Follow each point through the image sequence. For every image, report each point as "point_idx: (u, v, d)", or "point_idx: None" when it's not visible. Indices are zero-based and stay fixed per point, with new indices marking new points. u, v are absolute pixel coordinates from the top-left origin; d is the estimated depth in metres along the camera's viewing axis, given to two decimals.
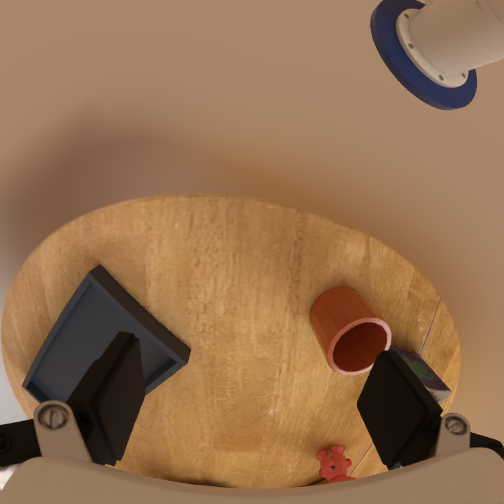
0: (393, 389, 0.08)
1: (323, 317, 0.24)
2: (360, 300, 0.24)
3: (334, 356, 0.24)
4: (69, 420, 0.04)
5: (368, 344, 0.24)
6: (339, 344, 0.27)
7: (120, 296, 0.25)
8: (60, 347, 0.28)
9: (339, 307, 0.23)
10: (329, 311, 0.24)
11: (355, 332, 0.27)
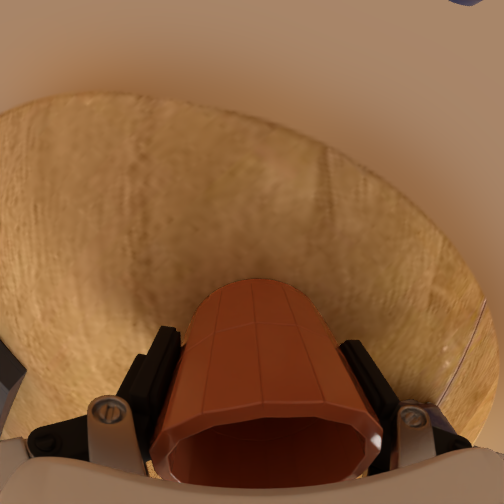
0: None
1: (178, 359, 0.08)
2: (291, 319, 0.08)
3: (219, 455, 0.08)
4: (127, 413, 0.05)
5: (320, 431, 0.08)
6: None
7: None
8: None
9: (211, 339, 0.07)
10: (190, 346, 0.08)
11: None
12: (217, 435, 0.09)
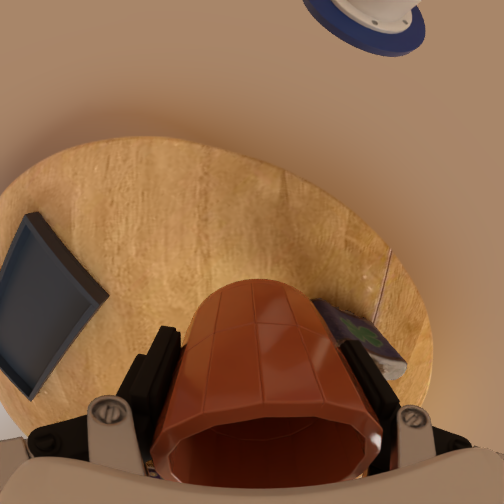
0: None
1: (179, 359, 0.08)
2: (291, 319, 0.08)
3: (219, 455, 0.08)
4: (127, 413, 0.05)
5: (320, 431, 0.08)
6: None
7: (48, 237, 0.24)
8: (8, 298, 0.26)
9: (211, 339, 0.07)
10: (190, 346, 0.08)
11: None
12: (217, 435, 0.09)
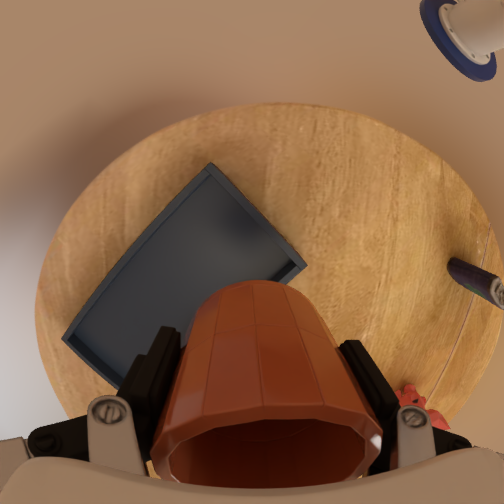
0: None
1: (179, 360, 0.08)
2: (291, 320, 0.08)
3: (219, 456, 0.08)
4: (127, 413, 0.05)
5: (320, 433, 0.08)
6: None
7: (240, 192, 0.26)
8: (133, 274, 0.29)
9: (211, 340, 0.07)
10: (190, 347, 0.08)
11: None
12: (217, 436, 0.09)
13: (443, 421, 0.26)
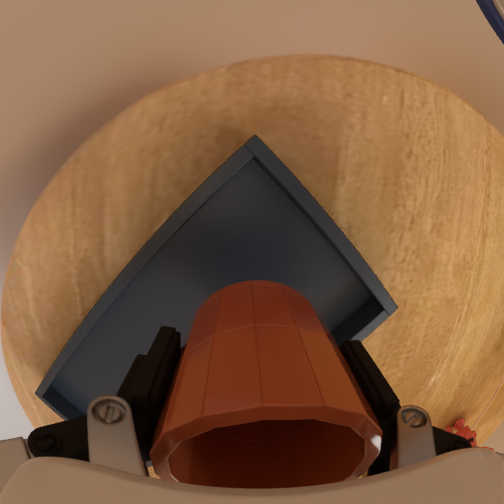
0: None
1: (178, 361, 0.08)
2: (291, 321, 0.08)
3: (219, 457, 0.08)
4: (127, 413, 0.05)
5: (320, 433, 0.08)
6: None
7: None
8: (121, 320, 0.17)
9: (211, 341, 0.07)
10: (189, 347, 0.08)
11: None
12: (217, 436, 0.09)
13: None
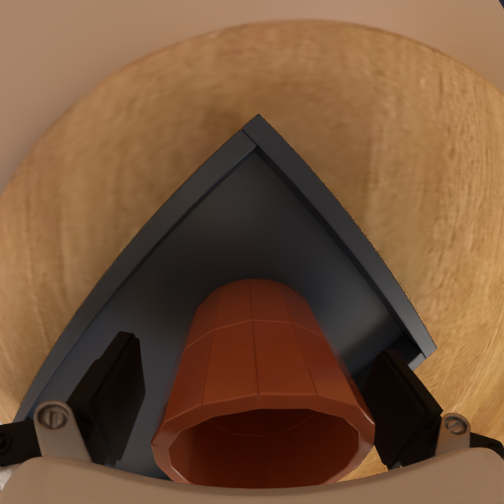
0: (393, 389, 0.08)
1: (179, 356, 0.09)
2: (287, 317, 0.08)
3: (218, 450, 0.08)
4: (69, 420, 0.04)
5: (316, 427, 0.09)
6: (254, 410, 0.11)
7: None
8: (90, 360, 0.13)
9: (210, 335, 0.08)
10: (190, 342, 0.08)
11: None
12: (216, 430, 0.09)
13: None
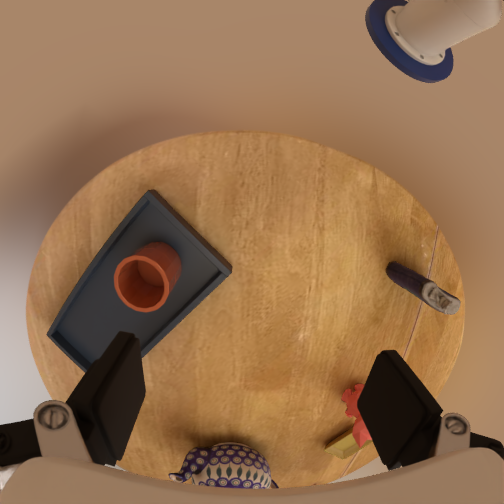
0: (393, 389, 0.08)
1: None
2: (154, 248, 0.29)
3: (136, 296, 0.29)
4: (69, 420, 0.04)
5: None
6: (155, 291, 0.32)
7: (173, 213, 0.31)
8: (98, 280, 0.33)
9: (133, 252, 0.29)
10: None
11: None
12: (138, 292, 0.30)
13: None
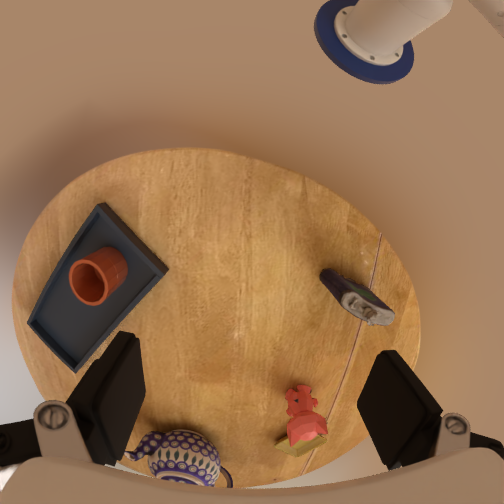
0: (393, 389, 0.08)
1: None
2: (101, 253, 0.33)
3: (88, 292, 0.32)
4: (69, 420, 0.04)
5: None
6: None
7: (118, 223, 0.34)
8: (65, 278, 0.37)
9: (85, 256, 0.32)
10: None
11: None
12: (90, 288, 0.33)
13: (322, 425, 0.34)
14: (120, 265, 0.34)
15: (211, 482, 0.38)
